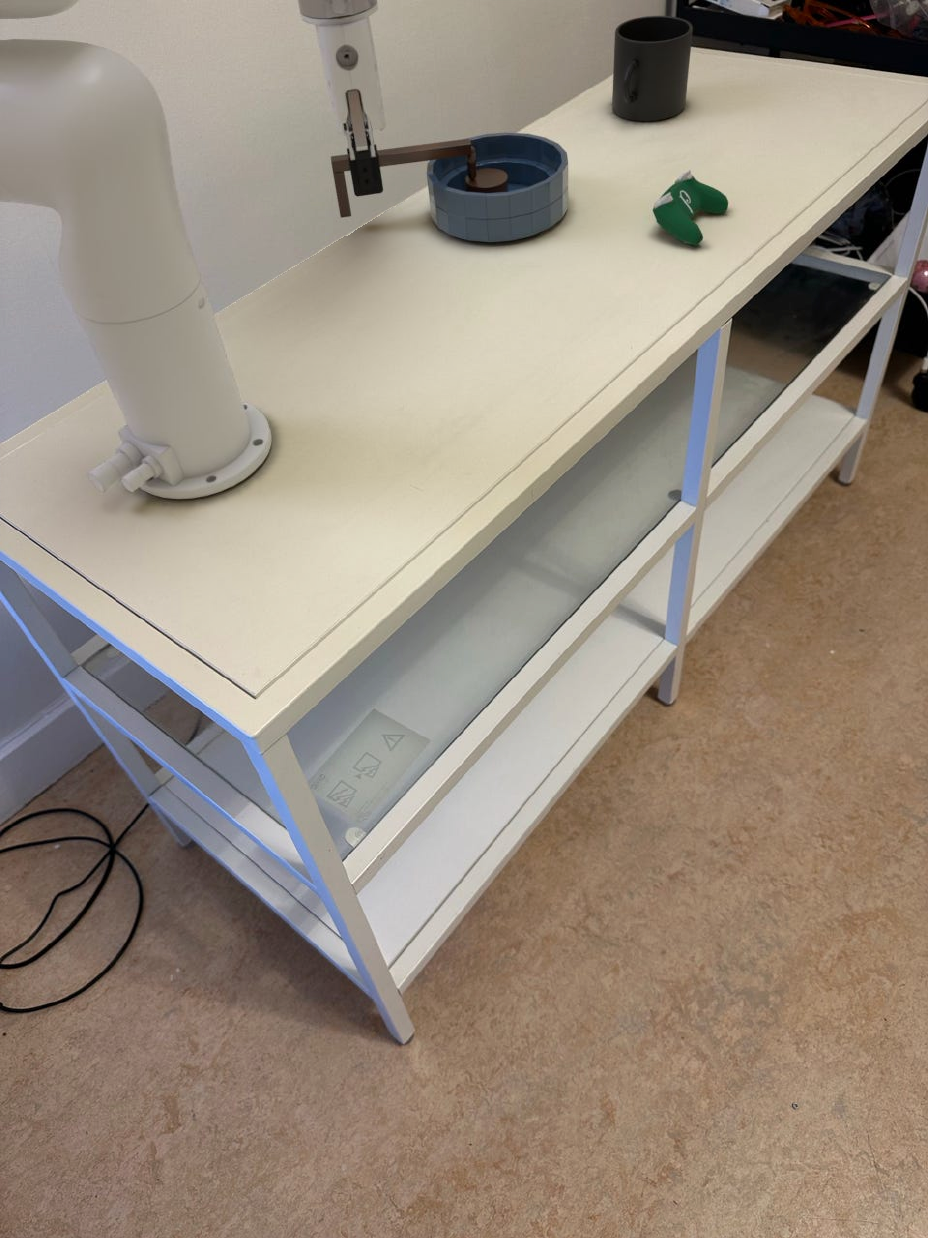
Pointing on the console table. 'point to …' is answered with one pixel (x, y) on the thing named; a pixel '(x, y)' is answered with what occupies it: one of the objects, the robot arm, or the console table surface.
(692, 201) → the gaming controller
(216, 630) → the console table surface
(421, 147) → the brown long handled part
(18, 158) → the robot arm
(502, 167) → the bowl
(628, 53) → the mug
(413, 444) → the console table surface
